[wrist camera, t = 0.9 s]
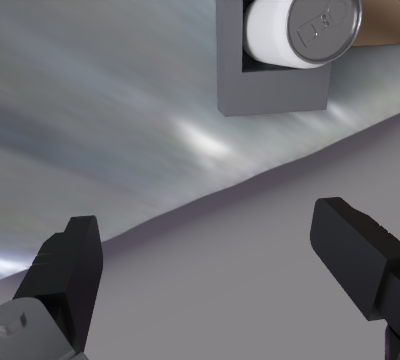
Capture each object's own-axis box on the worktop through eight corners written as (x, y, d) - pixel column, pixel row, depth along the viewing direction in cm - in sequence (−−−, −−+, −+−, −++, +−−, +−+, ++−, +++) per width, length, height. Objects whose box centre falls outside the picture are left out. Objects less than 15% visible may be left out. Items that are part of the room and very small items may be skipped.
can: (307, 36, 33) (381, 32, 22) (258, 74, 34) (306, 88, 23) (277, -21, 30) (345, -58, 19) (225, 22, 31) (263, 10, 20)
